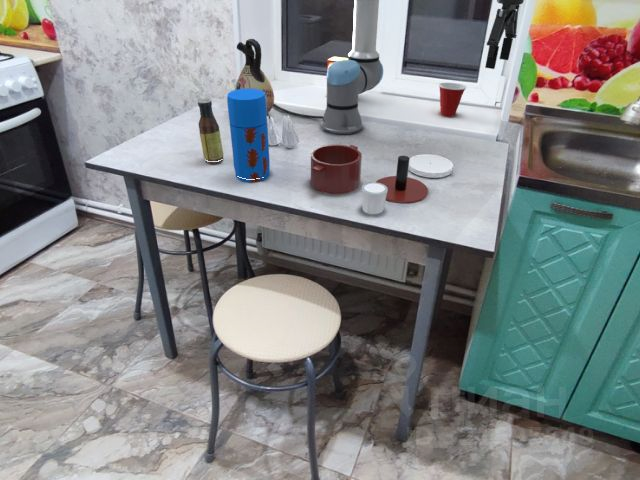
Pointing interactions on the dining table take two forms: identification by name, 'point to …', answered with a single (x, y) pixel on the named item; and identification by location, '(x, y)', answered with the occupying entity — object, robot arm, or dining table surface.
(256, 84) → the ceramic jug
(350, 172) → the pot
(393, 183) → the lid
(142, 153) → the dining table surface
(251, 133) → the thermos
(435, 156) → the plastic lid
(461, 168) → the dining table surface
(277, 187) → the dining table surface
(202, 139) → the sauce bottle
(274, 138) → the shaker set
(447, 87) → the plastic cup
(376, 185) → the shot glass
